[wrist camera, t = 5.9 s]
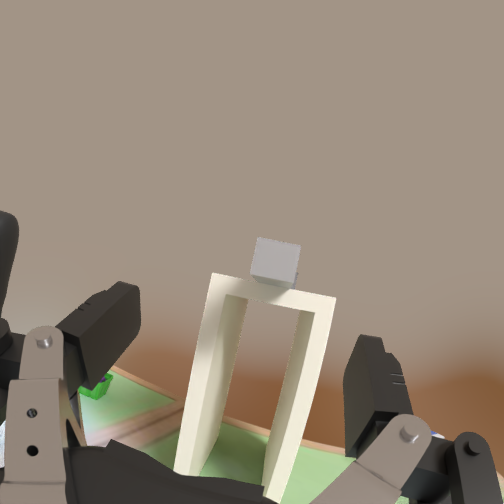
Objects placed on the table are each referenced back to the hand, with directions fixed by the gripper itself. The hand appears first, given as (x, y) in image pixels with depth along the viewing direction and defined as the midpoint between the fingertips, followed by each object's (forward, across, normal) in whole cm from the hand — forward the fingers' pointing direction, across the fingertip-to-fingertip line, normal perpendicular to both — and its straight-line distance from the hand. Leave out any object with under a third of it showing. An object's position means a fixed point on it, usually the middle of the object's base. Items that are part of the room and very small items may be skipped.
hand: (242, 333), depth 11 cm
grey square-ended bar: (+29, 0, -13) cm, 32 cm away
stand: (+17, 0, -44) cm, 47 cm away
